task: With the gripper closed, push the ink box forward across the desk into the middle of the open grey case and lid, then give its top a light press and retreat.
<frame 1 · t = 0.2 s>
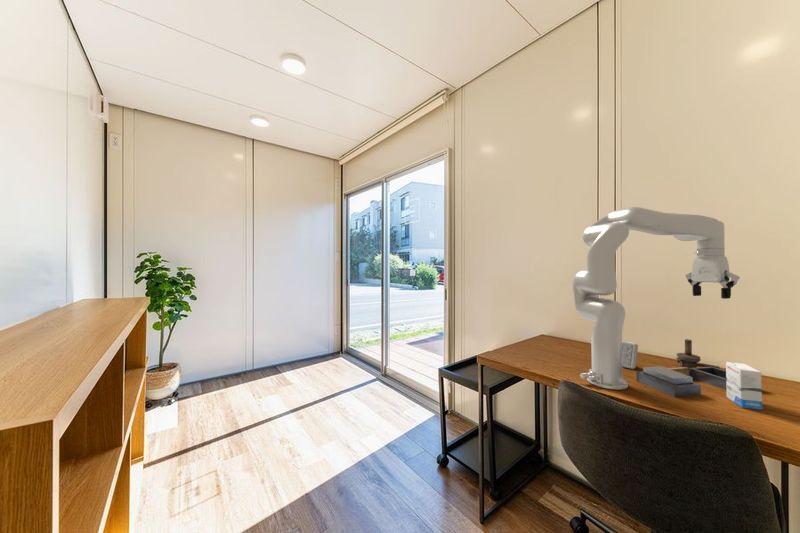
hand: (710, 297, 117), 31 cm above the table, fingers open, 9 cm apart
digital clock: (614, 364, 132), on the table
ink box: (743, 403, 95), on the table
grey case and lid: (694, 385, 108), on the table
industrial component: (690, 368, 125), on the table
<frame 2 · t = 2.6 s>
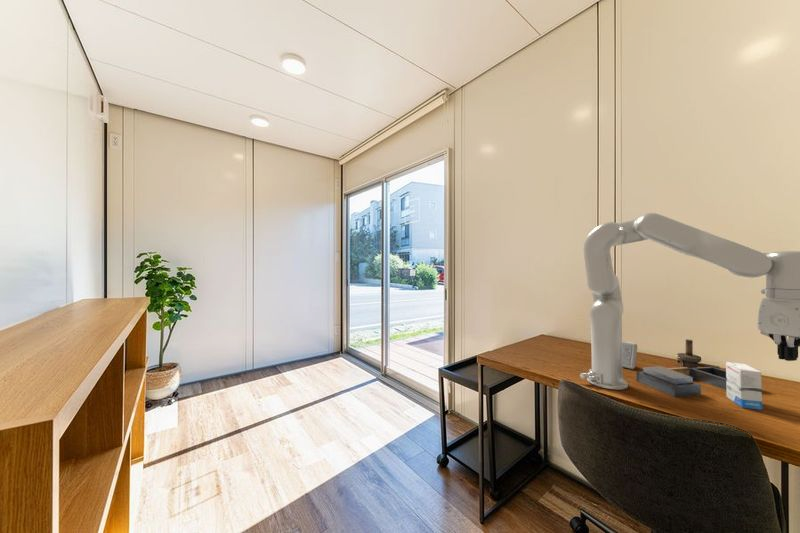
hand: (787, 359, 84), 17 cm above the table, fingers closed
nothing on the table moved.
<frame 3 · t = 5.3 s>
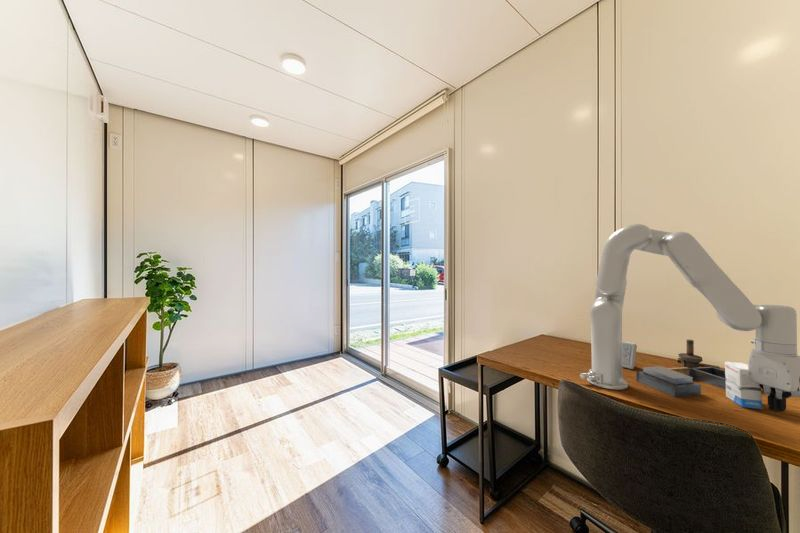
hand: (776, 410, 87), 1 cm above the table, fingers closed
ink box: (743, 403, 95), on the table, touching gripper
everything else where it was.
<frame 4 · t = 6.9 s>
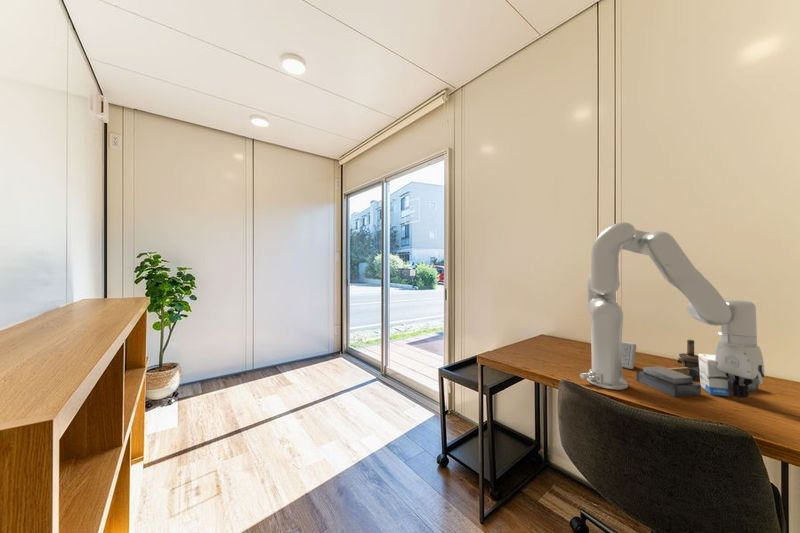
hand: (740, 396, 96), 2 cm above the table, fingers closed
ink box: (714, 391, 103), on the table, touching gripper
everything else where it was.
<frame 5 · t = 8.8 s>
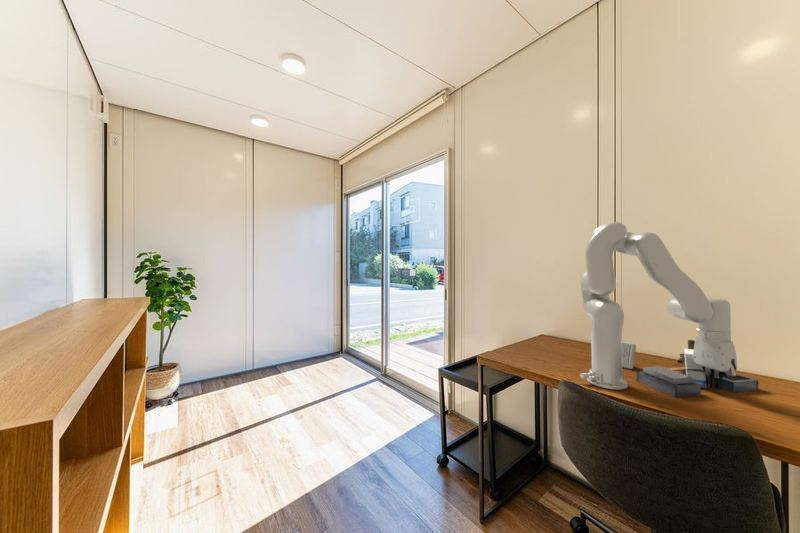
hand: (715, 388, 102), 2 cm above the table, fingers closed
ink box: (696, 384, 110), resting in grey case and lid, touching gripper
everything else where it was.
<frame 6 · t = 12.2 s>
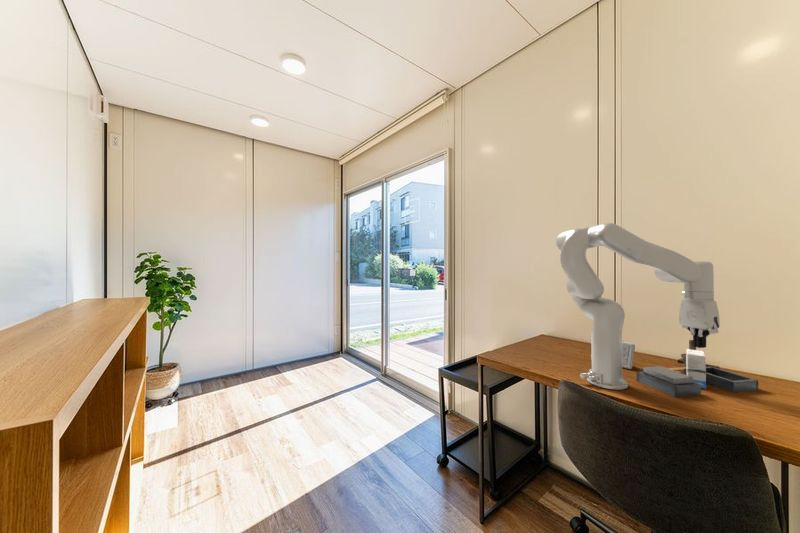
hand: (699, 347, 107), 14 cm above the table, fingers closed
ink box: (695, 384, 110), resting in grey case and lid
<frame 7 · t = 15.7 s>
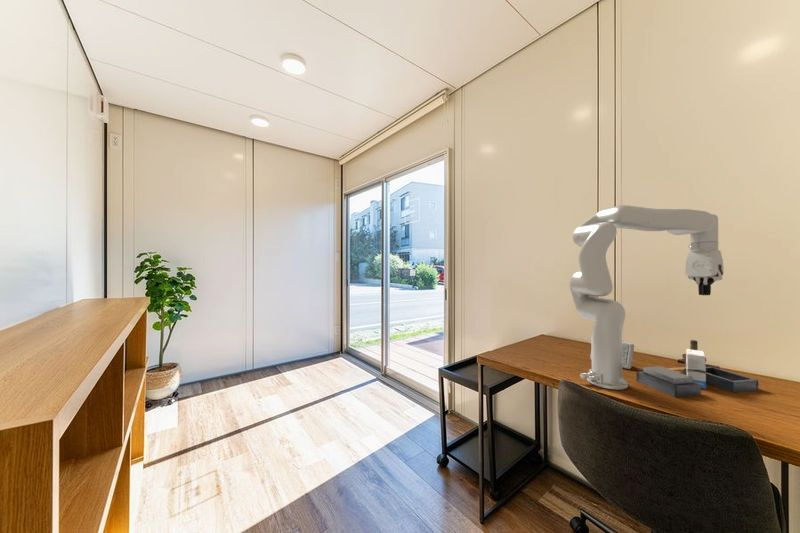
hand: (704, 294, 114), 32 cm above the table, fingers closed
at the end: ink box inside the target area on the grey case and lid (2.6 cm from its centre), point 0.0 cm above the grey case and lid's base; ink box tilted 0°; ink box moved 15.2 cm from its start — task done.
